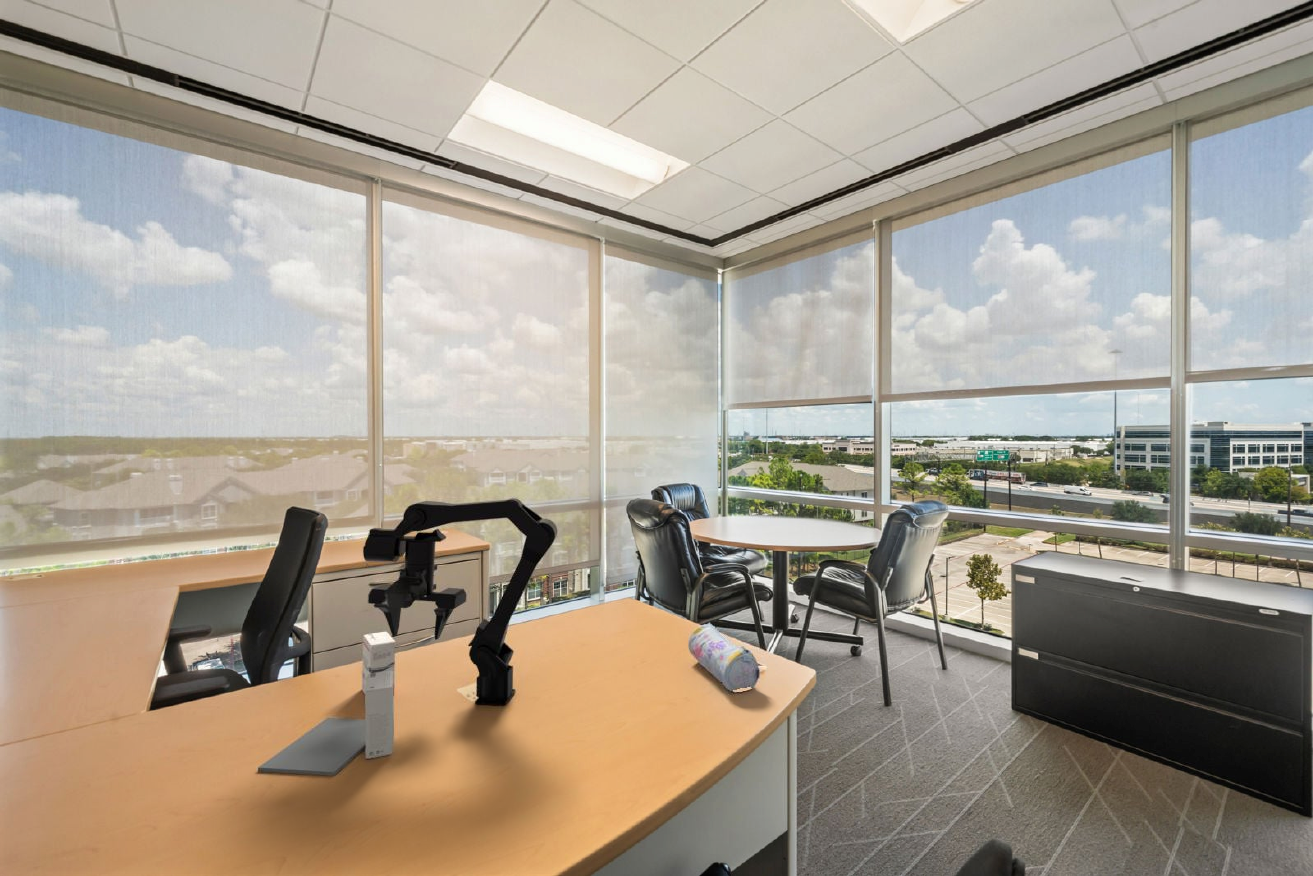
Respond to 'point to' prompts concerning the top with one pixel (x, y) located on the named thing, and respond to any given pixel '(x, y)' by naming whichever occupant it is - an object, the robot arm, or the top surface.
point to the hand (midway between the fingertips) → (415, 637)
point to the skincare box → (379, 714)
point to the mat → (321, 749)
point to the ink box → (377, 655)
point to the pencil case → (724, 658)
